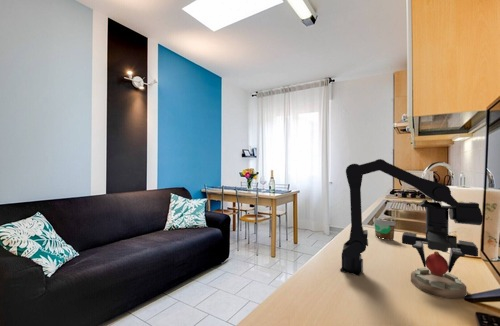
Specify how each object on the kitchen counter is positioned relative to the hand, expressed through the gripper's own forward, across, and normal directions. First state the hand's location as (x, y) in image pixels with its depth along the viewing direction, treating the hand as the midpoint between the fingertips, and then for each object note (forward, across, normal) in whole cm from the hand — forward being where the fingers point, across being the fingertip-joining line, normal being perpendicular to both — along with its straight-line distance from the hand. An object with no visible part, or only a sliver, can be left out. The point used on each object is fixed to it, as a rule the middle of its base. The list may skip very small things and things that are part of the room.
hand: (436, 269), depth 75 cm
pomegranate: (+2, 0, 0) cm, 2 cm away
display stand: (+5, 0, 0) cm, 5 cm away
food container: (+6, -22, +45) cm, 50 cm away
